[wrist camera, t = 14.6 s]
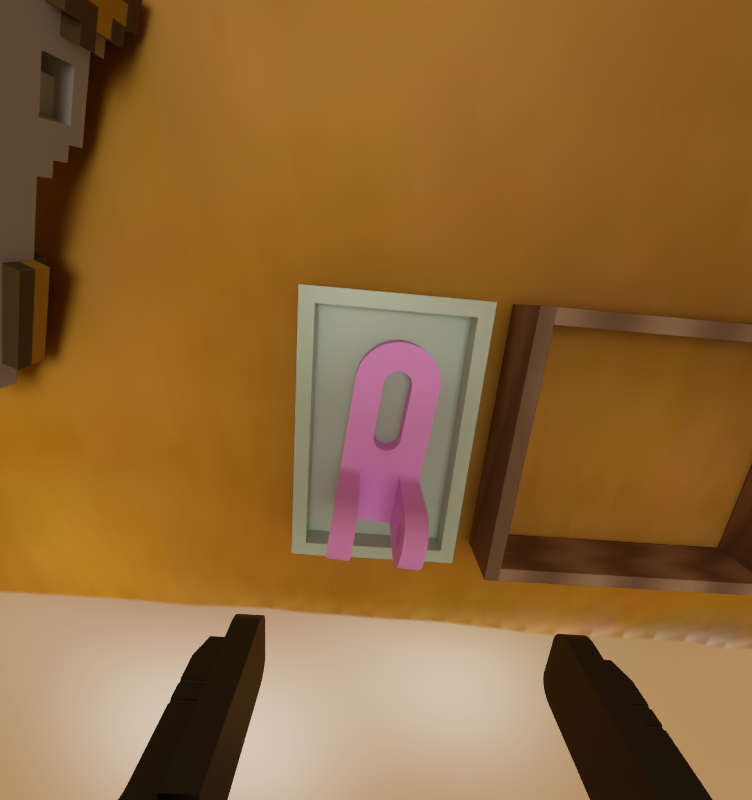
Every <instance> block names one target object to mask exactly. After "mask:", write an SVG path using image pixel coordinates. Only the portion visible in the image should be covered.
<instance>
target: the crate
mask: <svg viewBox="0 0 752 800" xmlns="http://www.w3.org/2000/svg"><path fill="white" fill-rule="evenodd" d="M554 325H561V326H572V327H584V328H595V329H606V330H618V331H629V332H640V333H652V334H663V335H674V336H685V337H697V338H708V339H719V340H731V341H742V342H752V325H751V324H740V323H728V322H717V321H706V320H695V319H684V318H673V317H662V316H651V315H640V314H629V313H618V312H607V311H596V310H585V309H574V308H563V307H552V306H541V305H516V304H513V309H512V315H511V320H510V326H509V331H508V336H507V342H506V347H505V353H504V358H503V363H502V369H501V374H500V380H499V385H498V390H497V396H496V401H495V407H494V412H493V418H492V423H491V428H490V434H489V439H488V445H487V450H486V455H485V461H484V466H483V472H482V477H481V482H480V488H479V493H478V499H477V504H476V509H475V515H474V520H473V526H472V531H471V537H470V542H469V543H470V546H471V548H472V551H473V553H474V555H475V558H476V560H477V563H478V565H479V568H480V570H481V573H482V575H483V578H484V580H497V581H514V582H531V583H548V584H565V585H582V586H599V587H617V588H634V589H651V590H668V591H685V592H702V593H719V594H737V595H752V467H751V469H750V472H749V474H748V477H747V479H746V482H745V484H744V486H743V489H742V491H741V494H740V496H739V499H738V501H737V503H736V506H735V508H734V511H733V513H732V516H731V518H730V521H729V523H728V525H727V528H726V530H725V533H724V535H723V538H722V540H721V543H720V545H719V547H718V548H708V547H693V546H677V545H661V544H646V543H630V542H614V541H598V540H583V539H567V538H551V537H536V536H520V535H508V533H509V529H510V524H511V520H512V515H513V510H514V506H515V501H516V497H517V492H518V487H519V483H520V478H521V474H522V469H523V465H524V460H525V455H526V451H527V446H528V442H529V437H530V432H531V428H532V423H533V419H534V414H535V410H536V405H537V400H538V396H539V391H540V387H541V382H542V377H543V373H544V368H545V364H546V359H547V355H548V350H549V345H550V341H551V336H552V332H553V327H554Z"/></svg>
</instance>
